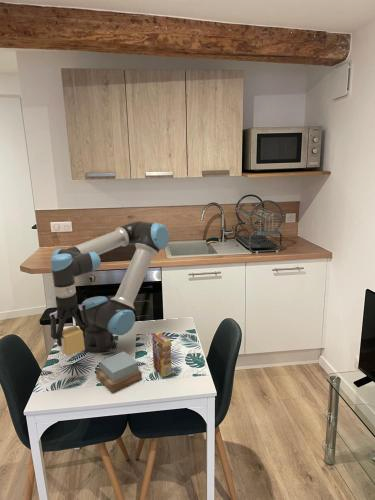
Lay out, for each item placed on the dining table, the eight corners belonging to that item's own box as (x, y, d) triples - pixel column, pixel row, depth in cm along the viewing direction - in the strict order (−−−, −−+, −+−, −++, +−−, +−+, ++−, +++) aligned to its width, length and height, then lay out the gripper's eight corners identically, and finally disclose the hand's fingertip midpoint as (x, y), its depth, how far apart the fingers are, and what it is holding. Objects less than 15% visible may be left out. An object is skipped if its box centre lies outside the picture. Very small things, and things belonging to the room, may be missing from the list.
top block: (100, 370, 141) (99, 361, 140) (124, 360, 148) (123, 351, 147) (113, 382, 133) (112, 372, 132) (138, 371, 140) (138, 362, 139)
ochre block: (60, 349, 140) (58, 331, 138) (77, 343, 145) (75, 325, 143) (67, 356, 135) (65, 337, 133) (84, 349, 140) (82, 331, 137)
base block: (96, 379, 142) (96, 370, 141) (125, 367, 150) (124, 358, 149) (112, 394, 132) (111, 385, 131) (142, 380, 140) (141, 371, 139)
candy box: (172, 374, 143) (171, 340, 139) (163, 377, 141) (161, 343, 137) (162, 364, 150) (160, 331, 147) (153, 367, 148) (151, 334, 144)
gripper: (42, 304, 125) (50, 362, 131) (94, 290, 137) (100, 343, 143) (35, 299, 131) (43, 354, 137) (86, 285, 143) (92, 337, 149)
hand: (72, 348), depth 140 cm, fingers closed on ochre block, 7 cm apart
